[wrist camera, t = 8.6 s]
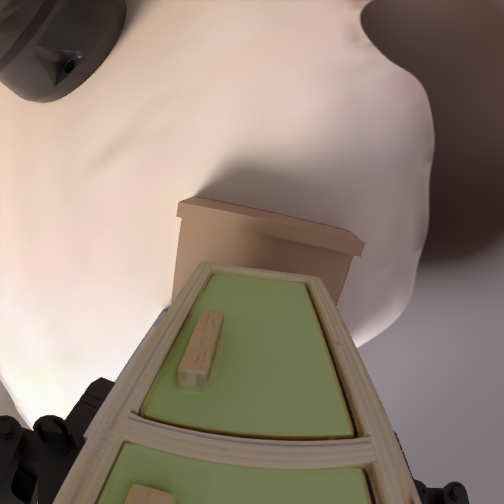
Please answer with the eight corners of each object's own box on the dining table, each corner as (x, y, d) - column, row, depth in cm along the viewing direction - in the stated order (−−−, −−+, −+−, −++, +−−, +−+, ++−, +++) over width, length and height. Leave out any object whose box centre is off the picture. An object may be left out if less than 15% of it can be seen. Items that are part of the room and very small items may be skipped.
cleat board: (176, 193, 22) (-15, 262, 5) (364, 234, 22) (521, 365, 5) (161, 324, 25) (72, 478, 8) (321, 356, 26) (359, 525, 8)
